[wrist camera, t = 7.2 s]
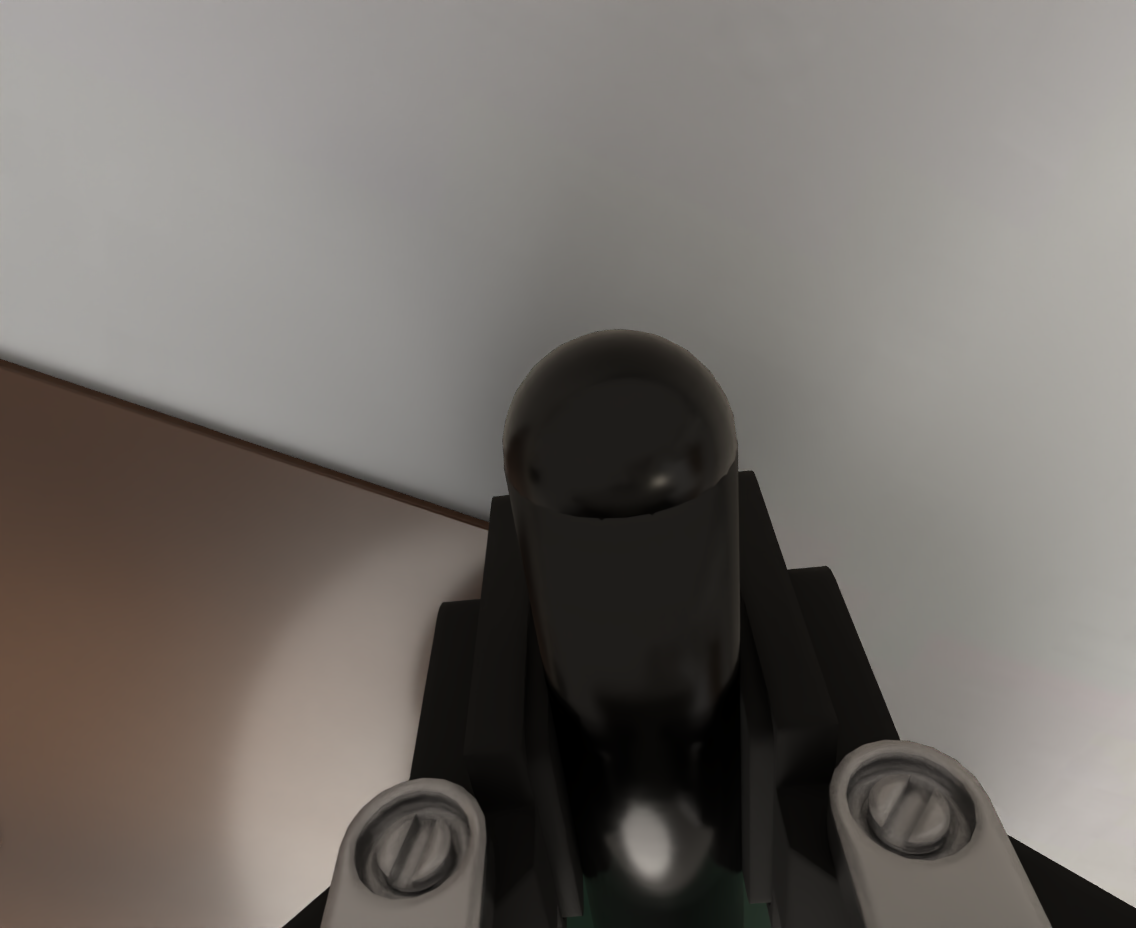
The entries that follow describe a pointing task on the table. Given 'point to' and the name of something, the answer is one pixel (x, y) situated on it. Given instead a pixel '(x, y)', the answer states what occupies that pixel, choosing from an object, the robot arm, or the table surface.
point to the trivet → (198, 661)
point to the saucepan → (638, 620)
